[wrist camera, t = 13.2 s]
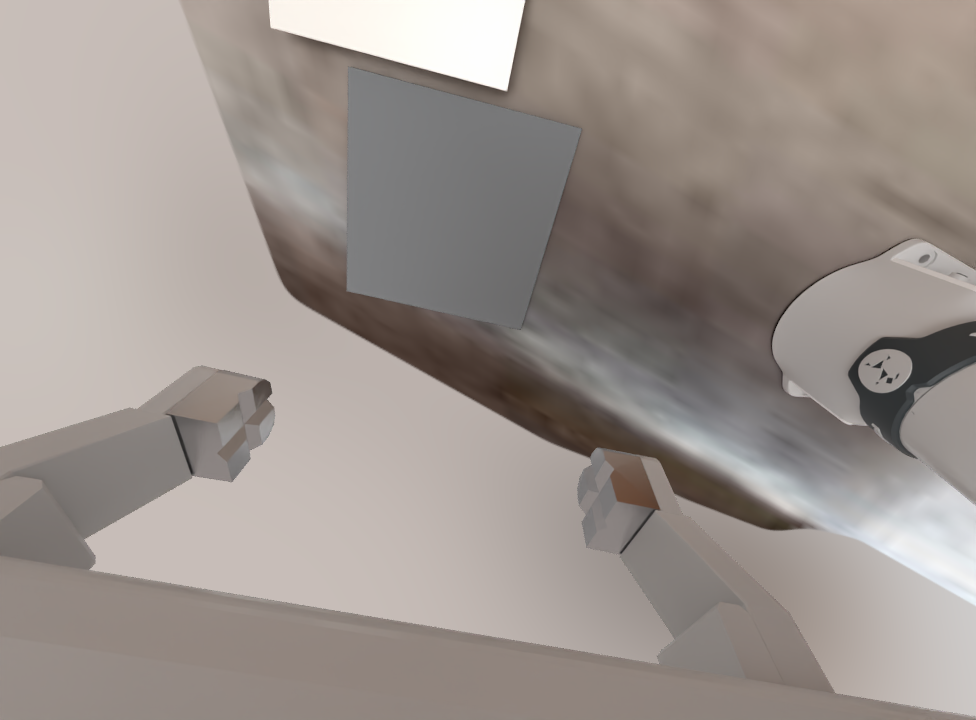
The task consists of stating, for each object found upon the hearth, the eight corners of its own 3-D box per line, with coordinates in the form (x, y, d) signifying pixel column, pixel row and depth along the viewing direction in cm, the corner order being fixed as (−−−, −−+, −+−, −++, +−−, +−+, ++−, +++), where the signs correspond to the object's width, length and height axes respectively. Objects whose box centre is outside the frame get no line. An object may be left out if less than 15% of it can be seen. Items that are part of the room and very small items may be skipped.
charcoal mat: (581, 128, 31) (582, 128, 31) (520, 327, 42) (520, 330, 42) (350, 67, 30) (348, 66, 30) (348, 289, 41) (346, 290, 40)
